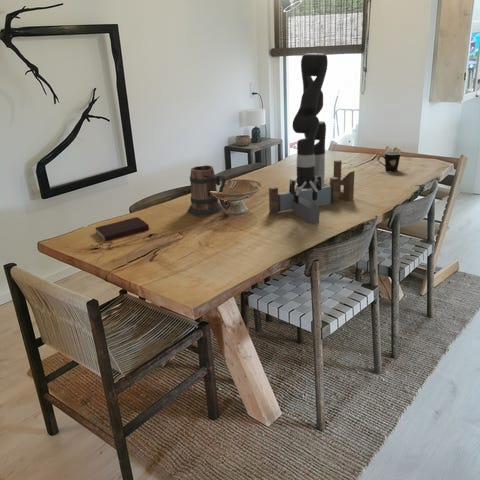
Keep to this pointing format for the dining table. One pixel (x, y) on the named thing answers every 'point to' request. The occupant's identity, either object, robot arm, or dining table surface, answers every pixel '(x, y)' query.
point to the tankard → (205, 191)
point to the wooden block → (344, 182)
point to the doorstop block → (306, 210)
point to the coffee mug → (391, 161)
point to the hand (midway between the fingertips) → (305, 201)
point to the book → (122, 228)
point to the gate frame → (274, 195)
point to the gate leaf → (322, 197)
